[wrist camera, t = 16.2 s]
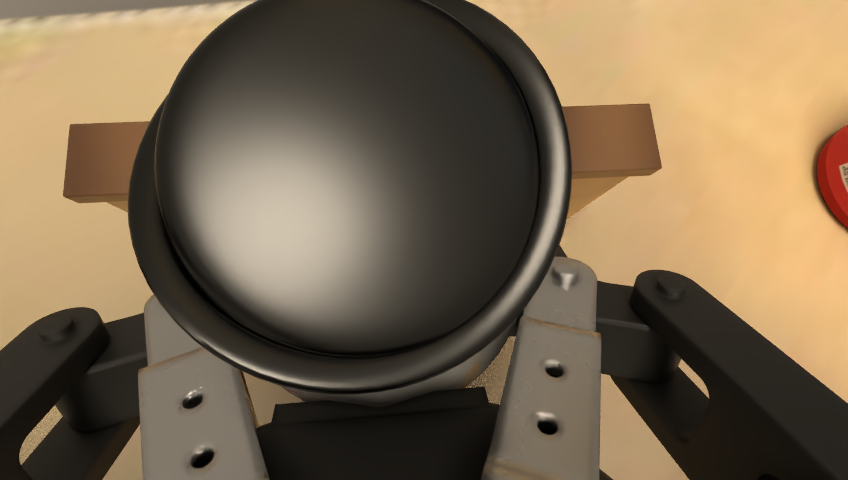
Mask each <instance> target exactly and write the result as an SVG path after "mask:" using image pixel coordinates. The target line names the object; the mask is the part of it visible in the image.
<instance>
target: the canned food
mask: <svg viewBox="0 0 848 480" xmlns="http://www.w3.org/2000/svg"><path fill="white" fill-rule="evenodd" d="M817 178H818V182H819V187H820V190H821V193H822V195H823V197H824V200H825V202H826V203H827V205H828V206H829V208H830V210H831V211H832V213H833V214H834V215H835V216H836V217H837V218H838V219H839V221H840V222H841V223H842V224H844V225H845V226H846V227H847V228H848V125H847V126H845V127H844V128H843V129H841V130H840V131H839V132H837V133H836V134H835V135H834V136H833V137H832V138H831V139H830V140H829V141H828V142H827V143H826V144H825V146H824V147H823V148H822V151H821V153H820V155H819V159H818V165H817Z"/></svg>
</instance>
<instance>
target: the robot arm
mask: <svg viewBox="0 0 848 480" xmlns="http://www.w3.org/2000/svg"><path fill="white" fill-rule="evenodd" d="M509 336H516V340H515V344H514V348H513V352H512V357H511V361H510V365H509V369H508V373H507V378H506V382H505V386H504V390H503V395H502V399H501V403H500V405H498V404H493V403H489V402H488V398H487V395H486V391H485V387H475V388H463V389H452V390H440V391H433V392H430V393H426V394H423V395H420V396H417V397H414V398H411V399H408V400H404V401H401V402H398V403H395V404H392V405H389V406H385V407H374V406H367V405H360V404H353V403H346V402H338V401H331V400H323V401H311V402H300V403H288V404H276V405H275V409H274V413H273V418H272V422H271V423H268V424H265V425H262V426H260V427H259V424H258V421H257V418H256V414H255V411H254V408H253V405H252V401H251V398H250V395H249V391H248V388H247V385H246V381H245V378H244V375H243V372H242V371H241V370H239V369H237V368H235V367H233V366H231V365H230V364H228V363H226V362H224V361H223V360H221V359H219V358H218V357H216V356H214V355H213V354H212V353H210V352H209V351H208V350H206V349H205V348H204V347H202V346H201V345H200V344H198V343H197V342H196V341H194V340H193V339H192V338H191V337H190V336H189V335H188V334H187V333H186V332H185V331H184V330H183V329H182V328H181V327H180V326H179V325H177V323H176V322H175V321H174V320H173V319H172V318H171V316H170V315H169V314H168V313H167V312H166V310H165V309H164V308H163V307H162V306H161V304H160V303H159V301H158V299H157V298H156V296H155V295H153V296H151V297H150V299H149V300H148V301H147V302H146V304H145V307H144V313H141V314H138V315H135V316H131V317H127V318H123V319H119V320H116V321H112V322H108V323H103V321H102V319H101V317H100V315H99V314H98V312H97V311H95V310H93V309H91V308H85V307H77V308H70V309H65V310H61V311H58V312H55V313H52V314H50V315H48V316H45V317H43V318H41V319H40V320H38V321H36V322H34V323H33V324H31V325H30V326H29V327H27V328H26V329H25V330H24V331H22V332H21V333H20V334H19V335H18V336H17V337H16V338H14V339H13V340H12V341H11V342H10V343H9V344H8V345H6V346H5V347H4V348H3V349H2V350H1V351H0V480H102V479H103V478H104V476H105V475H106V473H107V472H108V470H109V469H110V467H111V466H112V464H113V463H114V461H115V460H116V458H117V457H118V455H119V454H120V453H121V451H122V450H123V448H124V447H125V445H126V444H127V442H128V441H129V439H130V438H131V436H132V435H133V433H134V432H135V430H136V429H137V427H138V426H139V424H140V429H141V450H142V471H143V480H613V479H612V478H610V477H609V476H608V475H607V474H605V473H604V472H603V471H602V470H600V469H599V461H600V392H601V373H602V374H607V375H610V376H611V378H612V380H613V381H614V383H615V384H616V385H617V387H618V388H619V389H620V390H621V392H622V393H623V394H624V396H625V397H626V398H627V399H628V401H629V402H630V403H631V405H632V406H633V407H634V409H635V410H636V411H637V412H638V414H639V415H640V416H641V418H642V419H643V420H644V421H645V423H646V424H647V425H648V427H649V428H650V429H651V430H652V432H653V433H654V434H655V436H656V437H657V438H658V440H659V441H660V442H661V443H662V445H663V446H664V447H665V449H666V450H667V451H668V452H669V454H670V455H671V456H672V458H673V459H674V460H675V462H676V463H677V464H678V465H679V467H680V468H681V469H682V471H683V472H684V473H685V474H686V476H687V477H688V478H689V480H848V403H846V402H845V401H844V400H843V399H841V398H840V397H839V396H838V395H836V394H835V393H834V392H833V391H831V390H830V389H829V388H828V387H826V386H825V385H824V384H823V383H821V382H820V381H819V380H817V379H816V378H815V377H814V376H812V375H811V374H810V373H809V372H807V371H806V370H805V369H804V368H802V367H801V366H800V365H799V364H797V363H796V362H795V361H794V360H792V359H791V358H790V357H789V356H787V355H786V354H785V353H784V352H782V351H781V350H780V349H779V348H777V347H776V346H775V345H773V344H772V343H771V342H770V341H768V340H767V339H766V338H765V337H763V336H762V335H761V334H760V333H758V332H757V331H756V330H755V329H753V328H752V327H751V326H750V325H748V324H747V323H746V322H745V321H743V320H742V319H741V318H740V317H738V316H737V315H736V314H735V313H733V312H732V311H731V310H729V309H728V308H727V307H726V306H724V305H723V304H722V303H721V302H719V301H718V300H717V299H716V298H714V297H713V296H712V295H711V294H709V293H708V292H707V291H706V290H704V289H703V288H702V287H701V286H699V285H698V284H697V283H695V282H694V281H693V280H691V279H689V278H687V277H685V276H683V275H680V274H678V273H674V272H671V271H665V270H648V271H645V272H642V273H641V274H639V275H638V276H637V278H636V281H635V284H634V287H632V286H625V285H618V284H611V283H605V282H601V281H597V277H596V274H595V273H594V271H593V270H592V269H591V268H590V267H589V266H587V265H586V264H584V263H582V262H580V261H578V260H575V259H571V258H567V256H566V254H565V253H564V251H563V250H562V248H561V247H560V245H559V247H558V250H557V253H556V255H555V257H554V259H553V262H552V264H551V266H550V268H549V271H548V272H547V274H546V276H545V278H544V280H543V281H542V283H541V285H540V287H539V289H538V290H537V292H536V293H535V294H534V296H533V297H532V299H531V300H530V302H529V303H528V305H527V306H526V307H525V309H524V310H523V311H522V312H521V313H520V315H519V316H518V317H517V319H516V322H515V324H514V327H513V329H512V331H511V333H510V335H509ZM681 359H682V360H683V361H684V362H685V363H686V364H687V365H688V366H689V367H690V368H691V369H692V370H693V371H694V372H695V373H696V374H697V375H698V376H699V377H700V378H701V379H702V380H703V382H704V383H705V385H706V387H707V389H708V392H709V398H708V397H707V396H706V395H705V394H704V393H703V392H702V391H701V390H700V389H699V388H698V387H697V386H696V385H695V384H694V383H693V382H692V381H691V379H690V378H689V377H688V376H687V375H686V374H685V373H684V372H683V371H682V370H681V369H680V368H679V367H678V365H679V363H680V360H681ZM54 405H55V406H56V407H57V409H58V410H59V411H60V413H61V414H62V416H63V417H62V418H61V419H60V421H59V422H58V423H57V424H56V425H55V426H54V428H53V429H52V430H51V431H50V432H49V433H48V435H47V436H46V437H45V438H44V439H43V440H42V442H41V443H40V444H39V445H38V446H37V447H36V449H35V450H34V451H33V452H32V453H31V455H30V456H29V457H28V458H27V459H26V460H25V462H24V463H23V464H22V465H21V464H20V461H19V453H20V449H21V446H22V444H23V442H24V440H25V438H26V437H27V436H28V434H29V433H30V432H31V431H32V430H33V429H34V427H35V426H36V425H37V424H38V423H39V422H40V421H41V420H42V419H43V417H44V416H45V415H46V414H47V413H48V412H49V411H50V410H51V408H52V407H53V406H54Z"/></svg>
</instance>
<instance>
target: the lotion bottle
mask: <svg viewBox="0 0 848 480" xmlns="http://www.w3.org/2000/svg"><path fill="white" fill-rule="evenodd" d="M571 187H572V158H571V145H570V139H569V133H568V127H567V123H566V120H565V116H564V112H563V109H562V106H561V103H560V101H559V98H558V96H557V93H556V90H555V88H554V86H553V84H552V82H551V80H550V78H549V77H548V75H547V73H546V71H545V69H544V68H543V66H542V65H541V63H540V62H539V60H538V59H537V57H536V56H535V54H534V53H533V52H532V51H531V50H530V48H529V47H528V46H527V45H526V44H525V43H524V41H523V40H522V39H521V38H520V37H519V36H518V35H517V34H516V33H514V32H513V31H512V30H511V29H510V28H509V27H508V26H507V25H506V24H504V23H503V22H501V21H500V20H499V19H497V18H496V17H495V16H493V15H492V14H490V13H489V12H487V11H485V10H483V9H482V8H480V7H478V6H476V5H475V4H472V3H470V2H468V1H466V0H258V1H256V2H254V3H252V4H250V5H248V6H246V7H245V8H243V9H241V10H240V11H238V12H237V13H235V14H234V15H232V16H231V17H229V18H228V19H227V20H225V21H224V22H223V23H222V24H220V25H219V26H218V27H217V28H216V29H215V30H213V31H212V32H211V33H210V34H209V35H208V36H207V37H206V38H205V39H204V40H203V41H202V42H201V44H200V45H199V46H198V47H197V48H196V49H195V51H194V52H193V53H192V54H191V56H190V57H189V58H188V60H187V61H186V62H185V64H184V66H183V67H182V69H181V70H180V72H179V74H178V76H177V77H176V79H175V81H174V83H173V85H172V87H171V90H170V92H169V94H168V95H167V96H166V98H165V99H164V101H163V102H162V104H161V105H160V106H159V108H158V109H157V111H156V113H155V114H154V116H153V118H152V119H151V121H150V123H149V125H148V126H147V128H146V131H145V133H144V135H143V137H142V140H141V142H140V144H139V147H138V150H137V153H136V156H135V159H134V162H133V166H132V171H131V176H130V181H129V191H128V223H129V229H130V234H131V240H132V245H133V248H134V251H135V254H136V257H137V261H138V264H139V266H140V268H141V270H142V273H143V275H144V277H145V279H146V281H147V283H148V285H149V287H150V288H151V290H152V292H153V293H154V295H155V296H156V298H157V299H158V301H159V303H160V304H161V306H162V307H163V308H164V309H165V310H166V312H167V313H168V314H169V315H170V316H171V318H172V319H173V320H174V321H175V322H176V323H177V325H179V326H180V327H181V328H182V329H183V330H184V331H185V332H186V333H187V334H188V335H189V336H190V337H191V338H192V339H193V340H194V341H196V342H197V343H198V344H200V345H201V346H202V347H204V348H205V349H206V350H208V351H209V352H210V353H212V354H213V355H214V356H216V357H218V358H219V359H221V360H223V361H224V362H226V363H228V364H230V365H231V366H233V367H235V368H237V369H239V370H241V371H243V372H245V373H248V374H250V375H252V376H254V377H257V378H259V379H262V380H265V381H268V382H271V383H274V384H277V385H280V386H282V387H283V388H284V389H286V390H287V391H288V392H290V393H291V394H293V395H295V396H296V397H298V398H300V399H301V400H303V401H305V402H311V401H323V400H331V401H338V402H346V403H353V404H360V405H367V406H374V407H385V406H389V405H392V404H395V403H398V402H401V401H404V400H408V399H411V398H414V397H417V396H420V395H423V394H426V393H430V392H433V391H440V390H452V389H463V388H465V387H467V386H468V385H469V384H470V383H471V382H472V381H474V380H475V379H476V378H477V377H478V376H479V375H480V374H481V373H482V372H483V371H484V370H485V369H486V368H487V367H488V366H489V365H490V364H491V362H492V361H493V360H494V358H495V357H496V356H497V355H498V353H499V352H500V350H501V349H502V347H503V346H504V344H505V342H506V341H507V339H508V337H509V335H510V333H511V331H512V329H513V327H514V324H515V322H516V319H517V317H518V316H519V315H520V313H521V312H522V311H523V310H524V309H525V307H526V306H527V305H528V303H529V302H530V300H531V299H532V297H533V296H534V294H535V293H536V292H537V290H538V289H539V287H540V285H541V283H542V281H543V280H544V278H545V276H546V274H547V272H548V271H549V268H550V266H551V264H552V262H553V259H554V257H555V255H556V253H557V250H558V247H559V244H560V241H561V238H562V235H563V232H564V228H565V224H566V219H567V215H568V211H569V204H570V196H571Z"/></svg>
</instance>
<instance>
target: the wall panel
mask: <svg viewBox="0 0 848 480" xmlns="http://www.w3.org/2000/svg"><path fill="white" fill-rule="evenodd" d="M562 109H563V112H564V116H565V120H566V123H567V127H568V133H569V139H570V145H571V158H572V187H571V196H570V204H569V211H568V215H567V218H569V217H570V216H572V215H573V214H574V213H576V212H577V211H579V210H580V209H582V208H583V207H585V206H586V205H588V204H589V203H591V202H592V201H593V200H595V199H596V198H598V197H599V196H601V195H602V194H604V193H605V192H607V191H608V190H610V189H611V188H613V187H614V186H615V185H617V184H618V183H620V182H621V181H623V180H624V179H626V178H627V177H629V176H647V175H651V174H653V173H655V172H656V171H658V170H659V169H661V168H662V166H661V161H660V155H659V150H658V145H657V140H656V135H655V130H654V124H653V119H652V114H651V109H650V105H649V104H626V105H598V106H570V107H562ZM149 123H150V122H122V123H94V124H71V125H70V129H69V139H68V150H67V160H66V170H65V181H64V191H63V196H64V197H65V198H68V199H70V200H73V201H75V202H77V203H95V202H107V203H109V204H111V205H113V206H115V207H118V208H120V209H122V210H124V211H126V212H128V191H129V181H130V176H131V171H132V166H133V162H134V159H135V156H136V153H137V150H138V147H139V144H140V142H141V140H142V137H143V135H144V133H145V131H146V128H147V126H148V125H149Z"/></svg>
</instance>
